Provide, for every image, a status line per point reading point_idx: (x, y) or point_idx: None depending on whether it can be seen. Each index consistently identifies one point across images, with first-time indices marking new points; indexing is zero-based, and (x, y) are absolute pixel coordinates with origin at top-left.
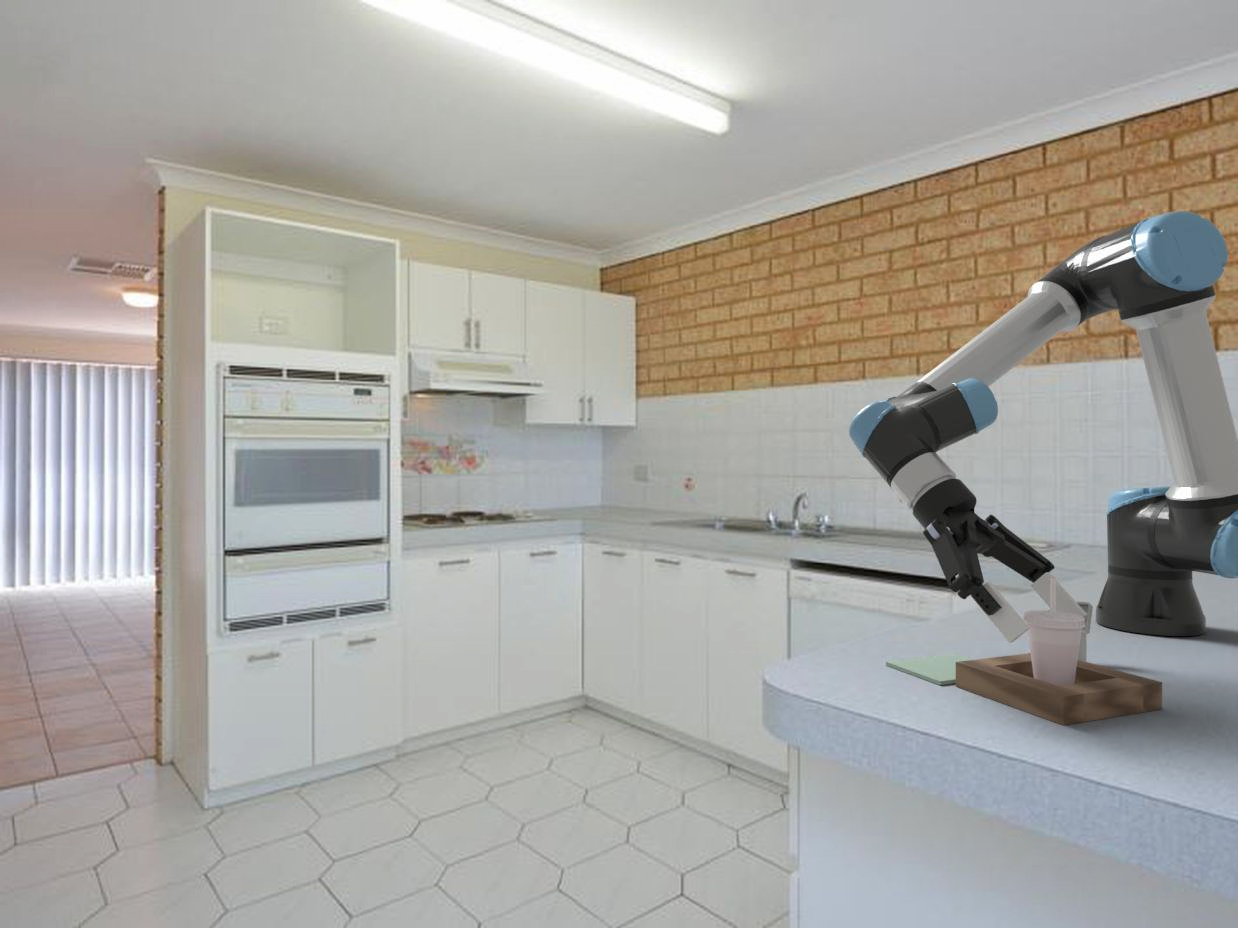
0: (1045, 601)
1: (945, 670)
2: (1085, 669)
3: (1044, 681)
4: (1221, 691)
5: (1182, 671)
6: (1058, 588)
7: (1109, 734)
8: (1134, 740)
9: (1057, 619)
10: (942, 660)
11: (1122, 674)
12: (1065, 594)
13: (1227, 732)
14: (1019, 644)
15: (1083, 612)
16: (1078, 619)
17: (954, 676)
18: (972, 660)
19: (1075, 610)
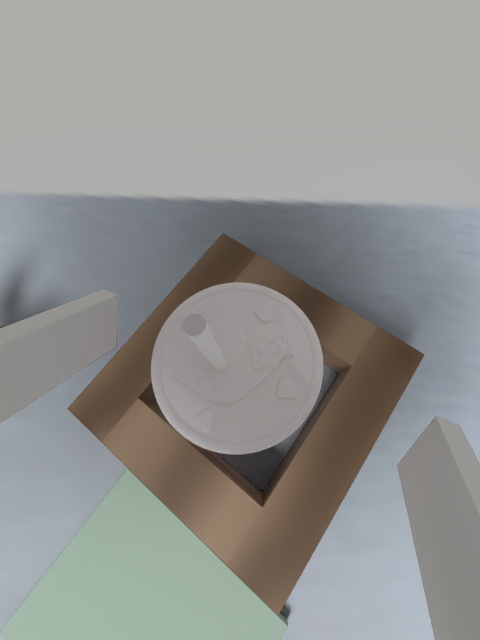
0: (37, 396)
1: (181, 629)
2: None
3: (336, 392)
4: (101, 201)
5: (5, 234)
6: (21, 341)
7: (396, 308)
8: (399, 282)
9: (293, 345)
10: None
11: (201, 280)
12: (52, 323)
13: (290, 202)
14: None
15: (106, 295)
16: (256, 295)
17: (226, 595)
18: (236, 569)
19: (99, 312)
